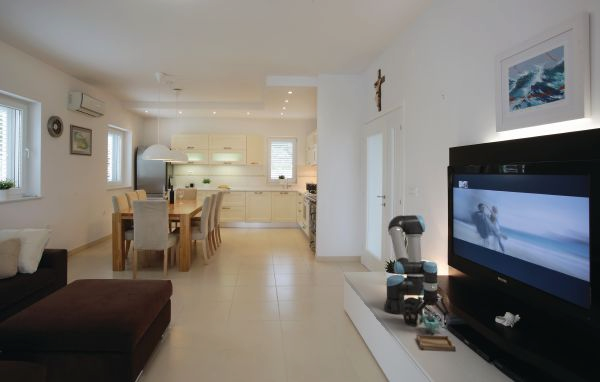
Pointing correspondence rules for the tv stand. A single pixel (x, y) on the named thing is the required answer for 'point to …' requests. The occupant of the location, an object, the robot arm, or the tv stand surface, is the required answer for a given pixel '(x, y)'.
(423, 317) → the teal rectangular frame
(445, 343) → the tray
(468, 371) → the tv stand surface
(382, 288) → the tv stand surface
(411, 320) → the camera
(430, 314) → the mallet
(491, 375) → the tv stand surface
